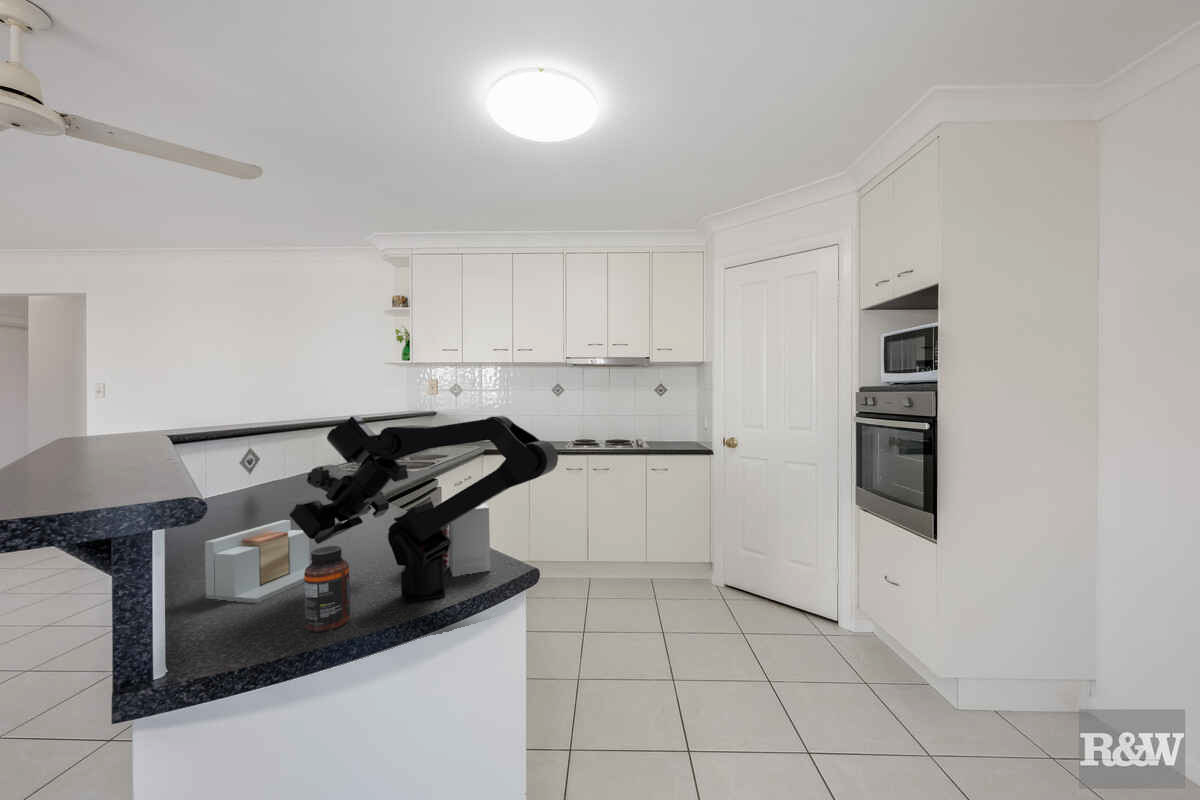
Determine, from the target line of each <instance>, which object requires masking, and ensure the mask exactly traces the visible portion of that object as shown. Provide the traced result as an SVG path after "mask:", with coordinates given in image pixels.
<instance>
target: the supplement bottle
mask: <svg viewBox="0 0 1200 800" xmlns="http://www.w3.org/2000/svg"><path fill="white" fill-rule="evenodd" d="M310 552H311V553H310V555H311V558H310V561H311V563H310V564H309V566H308V567H307V568H306V569H305V573H304V579H305V580H304V582H303V583H304V609H305V610H304V611H305V614H304V615H305V627H306V629H307V630H308V631H311V632H315V633H317V632H319V633H320V632H325V631H330V630H332V631H333V630H334V629H337V628H340V627H342V626H343V625H345V624H346V623H347V622H348V621H349V620H350V619H351V593H350V592H351V590H350V584H351V583H350V565H349V562H348V561H347V560H345V559H343V557H342V547H341V546H338V545H329V546H328V545H327V546H323V547H319V548H316V549H314V550H311V551H310Z"/></svg>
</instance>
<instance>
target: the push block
mask: <svg viewBox="0 0 1200 800" xmlns="http://www.w3.org/2000/svg"><path fill="white" fill-rule="evenodd" d="M242 546H253V547H259V575H260V584H263V583H266V582H268V581H271V580H273V579H275V578H278V577H280V576H283V575H285V574H288V573H289V561H288V532H267V533H264V534H261V535H257V536H254V537H251V538H247V539H244V540H242Z"/></svg>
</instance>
